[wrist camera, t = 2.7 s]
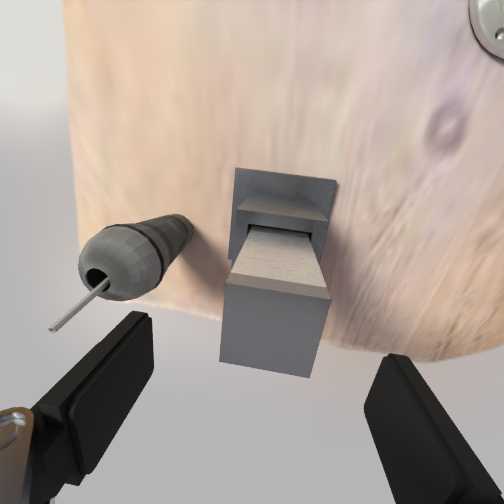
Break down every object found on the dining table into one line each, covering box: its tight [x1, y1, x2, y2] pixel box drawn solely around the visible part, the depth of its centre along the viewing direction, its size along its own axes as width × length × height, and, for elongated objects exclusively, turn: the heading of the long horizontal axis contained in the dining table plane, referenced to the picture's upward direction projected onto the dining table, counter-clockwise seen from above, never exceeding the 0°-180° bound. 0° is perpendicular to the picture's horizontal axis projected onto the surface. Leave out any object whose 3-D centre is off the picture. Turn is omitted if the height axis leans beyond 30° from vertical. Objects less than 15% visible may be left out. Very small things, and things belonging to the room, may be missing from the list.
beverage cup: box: [48, 214, 193, 333], centre depth 24 cm, size 7×7×20 cm
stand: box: [228, 168, 337, 270], centre depth 25 cm, size 12×12×13 cm
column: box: [219, 224, 331, 378], centre depth 20 cm, size 4×4×20 cm
